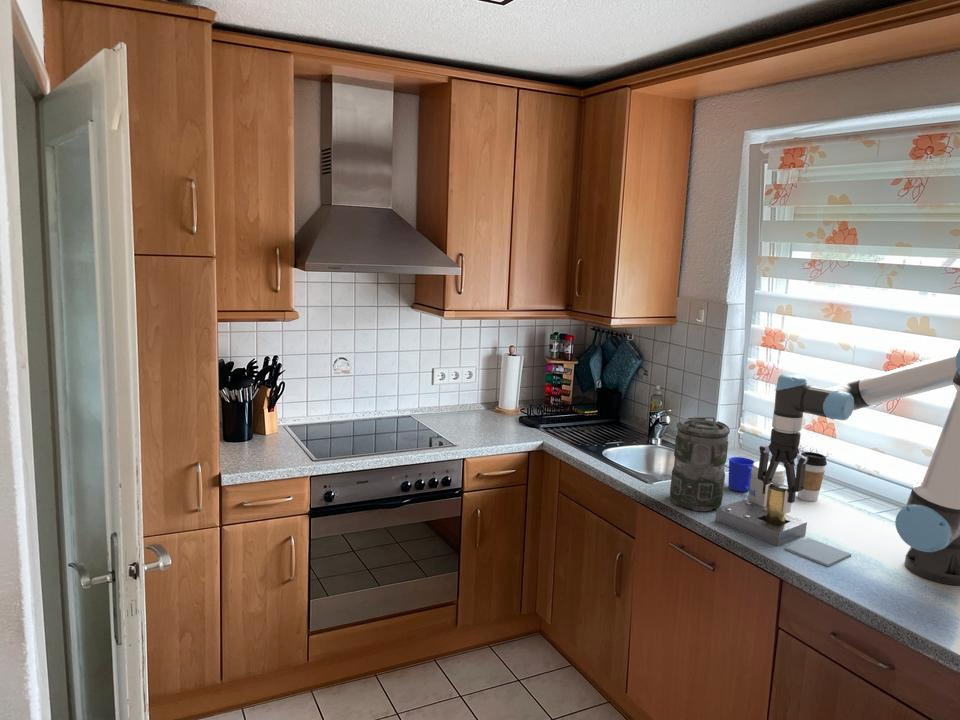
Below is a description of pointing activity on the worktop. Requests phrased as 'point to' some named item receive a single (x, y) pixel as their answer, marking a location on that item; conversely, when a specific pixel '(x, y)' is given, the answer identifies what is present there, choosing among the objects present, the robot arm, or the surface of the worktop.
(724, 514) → the housing
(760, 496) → the supplement tub
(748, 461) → the mug
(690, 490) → the canister
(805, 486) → the coffee cup
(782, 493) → the cylinder
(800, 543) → the mat
